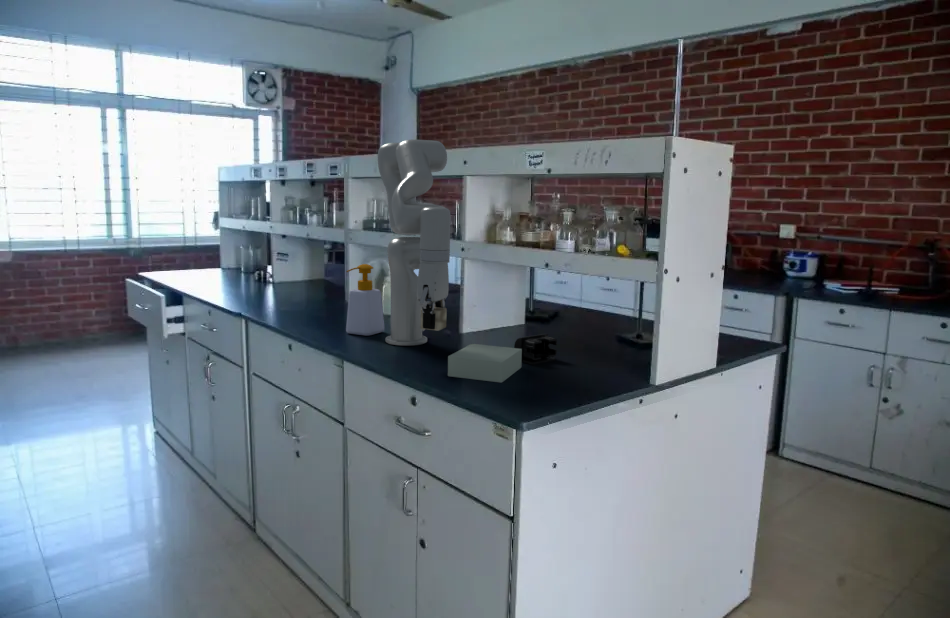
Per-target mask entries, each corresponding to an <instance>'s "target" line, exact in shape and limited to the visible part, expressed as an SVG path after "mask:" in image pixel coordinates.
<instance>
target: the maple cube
mask: <svg viewBox="0 0 950 618" xmlns="http://www.w3.org/2000/svg"><path fill="white" fill-rule="evenodd" d="M447 309H448V307H447V308H446V307H445V308H440V307H434V314H435V329H425V328H423V313H422V309H421V329H425V330H427V331H428V330H429V331H436V332H437V331H438V332H439V331H441V330H443V329H445V328H447V316H448V315H447V314H448V313H447V312H448V310H447Z"/></svg>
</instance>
